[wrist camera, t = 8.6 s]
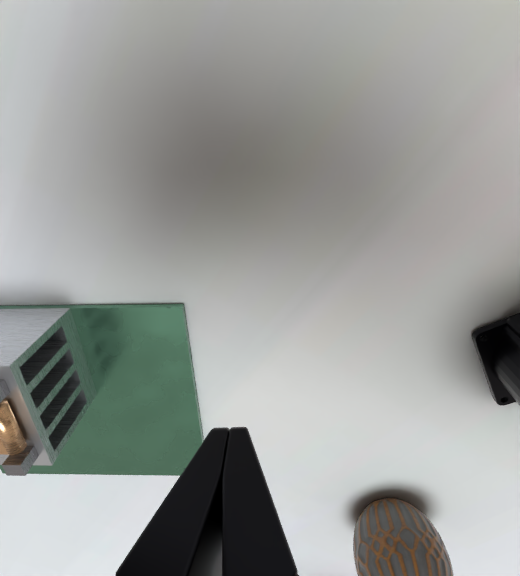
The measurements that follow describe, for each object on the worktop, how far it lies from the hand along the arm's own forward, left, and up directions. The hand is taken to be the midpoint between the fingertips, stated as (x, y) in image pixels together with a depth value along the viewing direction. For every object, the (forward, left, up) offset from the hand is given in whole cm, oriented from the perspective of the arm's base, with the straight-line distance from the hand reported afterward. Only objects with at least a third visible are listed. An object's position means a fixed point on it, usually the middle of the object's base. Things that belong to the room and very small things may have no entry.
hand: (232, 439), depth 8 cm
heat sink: (-4, +17, -13) cm, 22 cm away
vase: (-26, +2, -13) cm, 29 cm away
